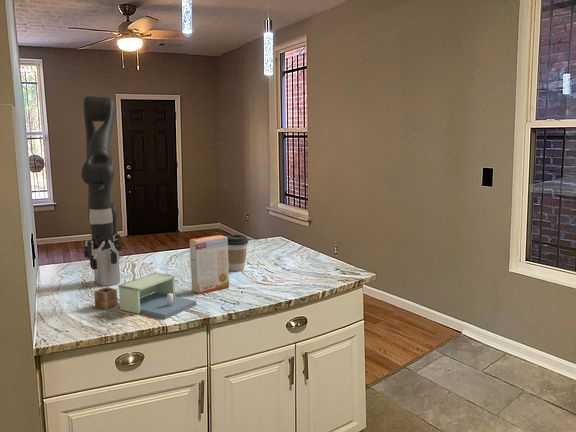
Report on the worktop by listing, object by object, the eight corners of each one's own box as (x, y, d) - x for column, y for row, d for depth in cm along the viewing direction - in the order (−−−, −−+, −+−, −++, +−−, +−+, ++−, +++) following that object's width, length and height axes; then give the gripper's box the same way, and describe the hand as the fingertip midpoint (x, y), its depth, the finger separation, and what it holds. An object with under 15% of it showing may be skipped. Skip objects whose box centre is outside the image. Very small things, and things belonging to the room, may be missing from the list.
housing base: (122, 308, 178) (121, 293, 177) (155, 296, 192) (154, 282, 191) (165, 319, 168) (164, 303, 168) (196, 304, 182) (195, 290, 181)
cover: (120, 309, 177) (118, 285, 176) (157, 294, 193) (156, 272, 191) (138, 313, 173) (137, 289, 171) (175, 298, 188) (174, 275, 187)
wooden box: (95, 307, 180) (94, 291, 179) (107, 302, 184) (106, 287, 183) (105, 310, 177) (104, 293, 176) (117, 305, 182) (116, 289, 181)
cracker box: (222, 284, 207) (220, 234, 203) (229, 287, 202) (228, 236, 198) (190, 290, 198) (189, 238, 195) (197, 294, 194) (196, 241, 190)
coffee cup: (250, 266, 234) (250, 234, 231) (246, 273, 223) (246, 239, 220) (226, 265, 235) (226, 233, 232) (221, 272, 224) (220, 239, 221)
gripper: (110, 217, 184) (112, 260, 186) (76, 223, 171) (80, 269, 174) (124, 219, 180) (127, 263, 183) (91, 225, 168) (95, 272, 170)
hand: (104, 266), depth 178 cm, fingers open, 8 cm apart
